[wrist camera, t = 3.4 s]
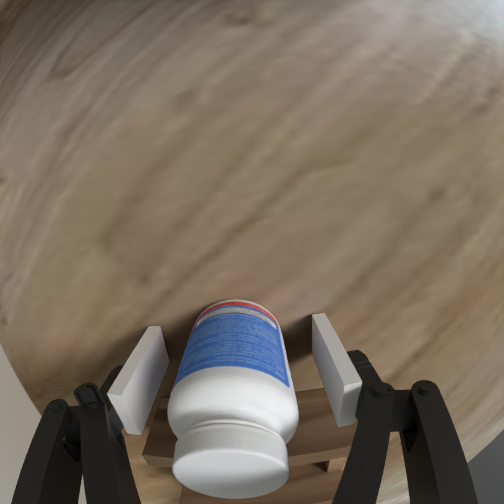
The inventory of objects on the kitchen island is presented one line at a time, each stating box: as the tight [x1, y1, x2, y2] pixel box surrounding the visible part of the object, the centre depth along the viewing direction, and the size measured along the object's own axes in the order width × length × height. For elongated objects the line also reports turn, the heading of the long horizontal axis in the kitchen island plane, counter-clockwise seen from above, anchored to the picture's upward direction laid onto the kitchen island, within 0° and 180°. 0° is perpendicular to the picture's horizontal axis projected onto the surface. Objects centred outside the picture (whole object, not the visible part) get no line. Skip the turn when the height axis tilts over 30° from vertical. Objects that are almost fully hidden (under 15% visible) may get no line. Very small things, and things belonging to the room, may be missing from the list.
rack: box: [142, 388, 358, 504], centre depth 17 cm, size 18×13×6 cm
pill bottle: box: [167, 299, 299, 499], centre depth 12 cm, size 6×5×10 cm
